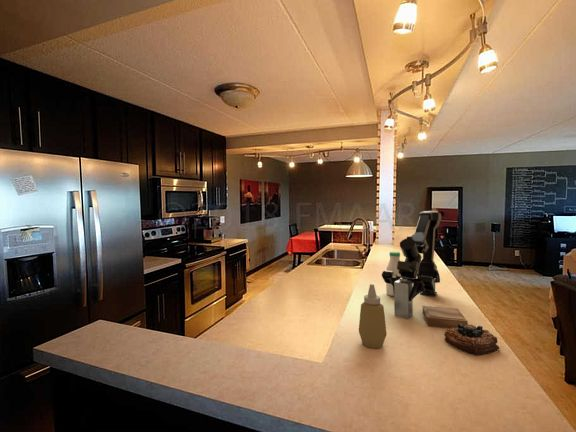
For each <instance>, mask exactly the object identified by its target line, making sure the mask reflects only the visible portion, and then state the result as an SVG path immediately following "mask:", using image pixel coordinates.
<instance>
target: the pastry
mask: <svg viewBox="0 0 576 432" xmlns="http://www.w3.org/2000/svg"><path fill="white" fill-rule="evenodd" d="M443 335H444V341H445V342H446V343H447V344H448V345H449V346H452V347H453V348H455V349H457V350H459V351H462V352H464V353H467V354H469V355H472V356H475V357H478V356H483V355H487V354H491V353H495V352H496V351H498V352H499V349H500V346H499V345H498V337H497V336H495V335H494V334H492V333H491V332H490V331H489V330H488V329H484V328H483V326H482V325H478V326H476V325H473V324H470V323H468V325H465V326H463V325H462V324H458V328H446V330H445V331H444V334H443Z"/></svg>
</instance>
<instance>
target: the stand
mask: <svg viewBox="0 0 576 432" xmlns="http://www.w3.org/2000/svg"><path fill="white" fill-rule="evenodd" d="M421 307H422V310H421V311H422V315H423V318H424V321H425V323H426V326H427V327H432V328H443V329H449V328H458V324H462V325H463V326H465V325H469V323H468V322H469V321H468V320H467V319H466V317H465V316H464V315H463V313H462V312H461V310H459V308H452V307H442V306H441V307H440V306H431V305H429V306H428V305H422V306H421Z"/></svg>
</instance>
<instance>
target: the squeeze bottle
mask: <svg viewBox="0 0 576 432" xmlns="http://www.w3.org/2000/svg"><path fill="white" fill-rule="evenodd" d="M363 296H364V297H363V302H362V303H361V304H360V313H359V324H358V333H359V336H360V340H361V342H362V345H364V346H366V347H367V348H370V349H379V348H382V347H383V345H384V343H385V341H386V336H387V327H386V316H385V315H386V314H385V307H384V305H383V304H382V303H381V296H379V295H377V292H376V288H375V284H369V286H368V292H367V294H365V295H363Z"/></svg>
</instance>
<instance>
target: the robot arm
mask: <svg viewBox="0 0 576 432" xmlns="http://www.w3.org/2000/svg"><path fill="white" fill-rule="evenodd" d="M441 221H442V214H441V212H439V211H438V210H428V211H427V210H424V211H420V212H419V214H418V220H417V223H416V227H415V229H414V230H415V231H414V233H413V234H412V235H410V236H406V238H404V239H402V240H401V241H400V242H399V247H400V250H401V251H402V256H403V257H405V258H404V261H403V260H400V261H398V264H397V270H399V274H401V275H400V276H398V275H396V274H394V273H393V271H386V270H383V271H382V272H381V278H382V279H383V282H384V283H385V284H386V283H388V284H392V286H393V292H394V282H395V281H397V280H399V279H400V278H407V281H413V288H412V291H411V294H410V297H409V301H412V300H414V298H416V297H417V296H418V295H422V296H423V295H424V296H431V297H437V294H438V292H437V291H436V284H439V283H441V277H440V273H439V270H438V266H437V264H436V263H435V261H434V260H435V259H434V256H435V241H436V230H437V229H438V227H439V226H440V223H441ZM421 254H422V255H421Z"/></svg>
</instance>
